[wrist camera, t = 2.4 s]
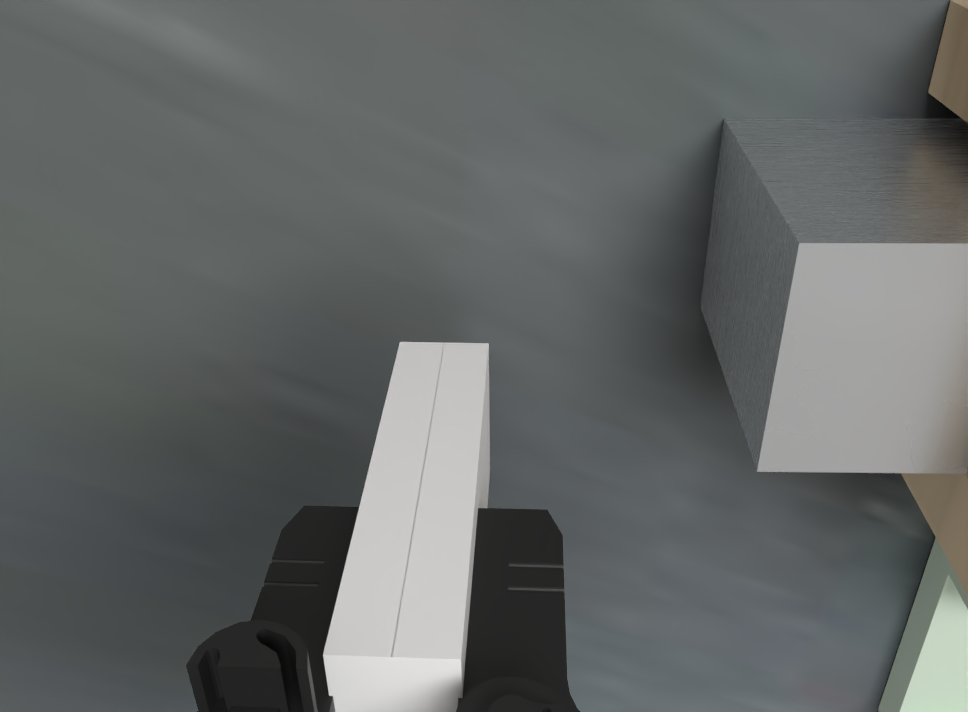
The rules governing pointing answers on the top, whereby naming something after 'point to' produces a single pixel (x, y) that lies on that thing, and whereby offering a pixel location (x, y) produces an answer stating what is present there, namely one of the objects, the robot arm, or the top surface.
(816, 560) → the top surface
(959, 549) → the block
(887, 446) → the steel bar
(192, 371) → the top surface
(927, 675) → the cradle
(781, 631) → the top surface
